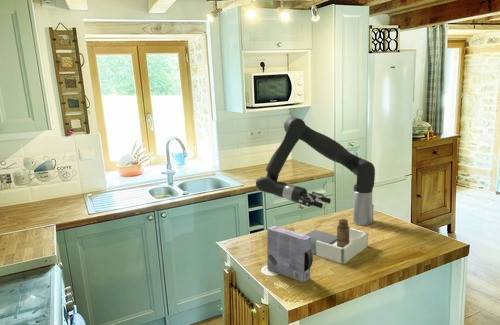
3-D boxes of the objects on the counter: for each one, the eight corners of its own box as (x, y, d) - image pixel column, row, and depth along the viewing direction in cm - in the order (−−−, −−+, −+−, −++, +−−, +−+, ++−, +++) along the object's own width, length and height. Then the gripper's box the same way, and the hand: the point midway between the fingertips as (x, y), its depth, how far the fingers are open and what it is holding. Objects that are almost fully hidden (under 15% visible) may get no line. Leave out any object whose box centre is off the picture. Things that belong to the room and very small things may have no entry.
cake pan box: (313, 279, 143) (313, 236, 139) (306, 284, 139) (305, 240, 135) (274, 264, 155) (272, 224, 151) (266, 269, 152) (264, 228, 148)
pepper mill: (343, 247, 166) (344, 217, 163) (351, 251, 162) (352, 221, 159) (334, 249, 164) (334, 219, 161) (342, 254, 160) (342, 223, 157)
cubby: (341, 239, 175) (341, 225, 174) (367, 247, 166) (368, 232, 165) (316, 256, 160) (315, 241, 159) (343, 265, 151) (343, 249, 150)
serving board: (314, 231, 186) (314, 229, 186) (339, 238, 176) (339, 236, 176) (287, 247, 170) (287, 244, 170) (313, 255, 161) (313, 253, 161)
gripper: (287, 189, 167) (320, 199, 159) (302, 183, 179) (334, 192, 170) (285, 204, 169) (318, 215, 160) (300, 197, 181) (331, 207, 172)
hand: (326, 203), depth 165 cm, fingers open, 8 cm apart
